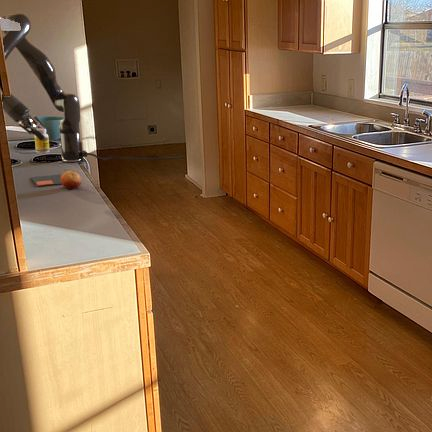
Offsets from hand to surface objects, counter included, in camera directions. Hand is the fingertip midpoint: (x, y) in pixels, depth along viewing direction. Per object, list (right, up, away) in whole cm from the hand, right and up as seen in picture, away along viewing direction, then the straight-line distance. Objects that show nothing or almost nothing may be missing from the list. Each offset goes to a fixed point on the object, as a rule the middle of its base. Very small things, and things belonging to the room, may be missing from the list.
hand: (45, 137), depth 239 cm
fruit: (+12, -22, -3) cm, 25 cm away
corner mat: (0, -18, +8) cm, 19 cm away
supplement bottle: (-2, -6, +2) cm, 7 cm away
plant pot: (-39, +13, +99) cm, 107 cm away
